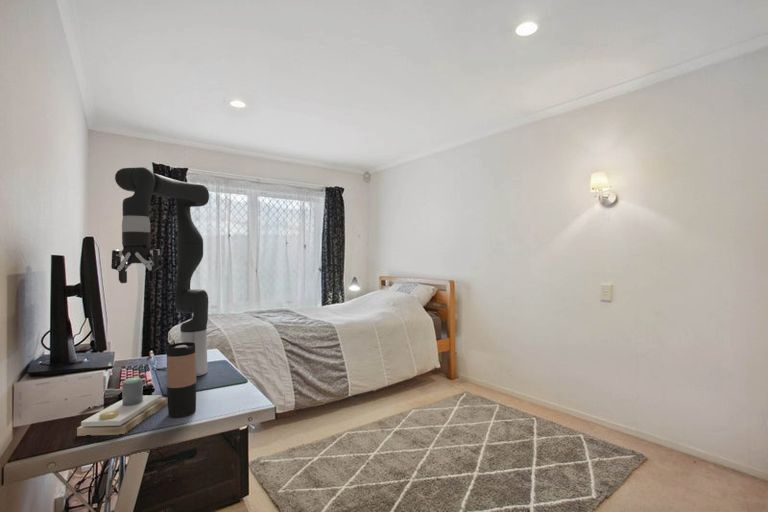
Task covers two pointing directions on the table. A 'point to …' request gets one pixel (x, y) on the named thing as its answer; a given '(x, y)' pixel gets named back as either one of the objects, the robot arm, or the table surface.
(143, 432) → the table surface
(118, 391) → the caliper
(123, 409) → the plate
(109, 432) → the oak base
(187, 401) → the travel mug
